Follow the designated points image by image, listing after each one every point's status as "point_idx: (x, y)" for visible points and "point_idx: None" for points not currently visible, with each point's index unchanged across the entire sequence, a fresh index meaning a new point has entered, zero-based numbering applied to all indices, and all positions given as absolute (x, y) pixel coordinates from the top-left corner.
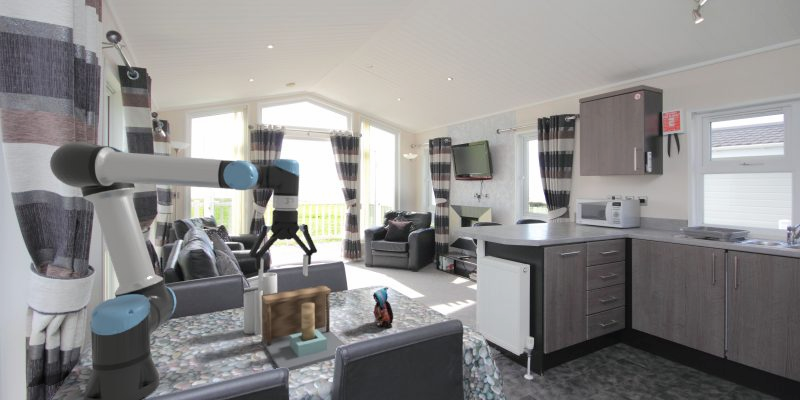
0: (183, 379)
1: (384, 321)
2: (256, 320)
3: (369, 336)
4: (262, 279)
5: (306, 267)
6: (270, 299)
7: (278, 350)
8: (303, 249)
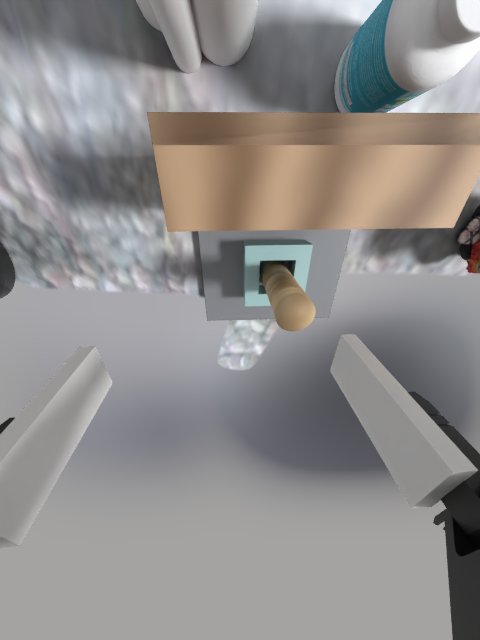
0: (50, 259)
1: (471, 257)
2: (166, 38)
3: (400, 270)
4: (106, 388)
5: (360, 410)
6: (186, 227)
7: (217, 249)
8: (467, 599)
